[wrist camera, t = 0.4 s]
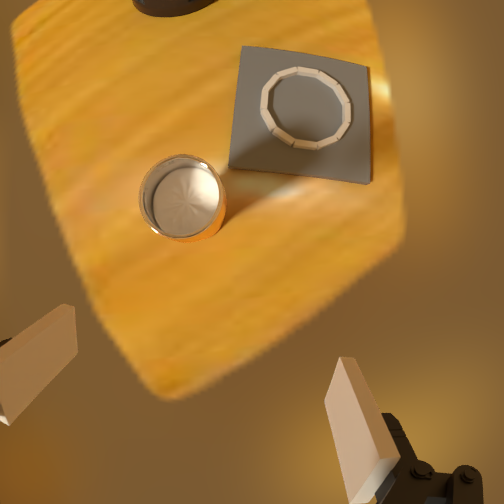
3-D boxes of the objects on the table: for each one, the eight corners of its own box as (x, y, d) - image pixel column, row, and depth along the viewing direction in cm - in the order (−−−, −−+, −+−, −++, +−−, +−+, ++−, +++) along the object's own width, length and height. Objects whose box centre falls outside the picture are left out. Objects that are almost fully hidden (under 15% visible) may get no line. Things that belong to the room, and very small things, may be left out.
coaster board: (241, 50, 38) (242, 41, 36) (363, 70, 39) (369, 63, 37) (228, 168, 38) (228, 163, 36) (366, 184, 40) (373, 181, 37)
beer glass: (232, 190, 38) (233, 157, 24) (223, 247, 39) (218, 248, 24) (176, 182, 38) (145, 147, 23) (166, 238, 38) (128, 235, 23)
